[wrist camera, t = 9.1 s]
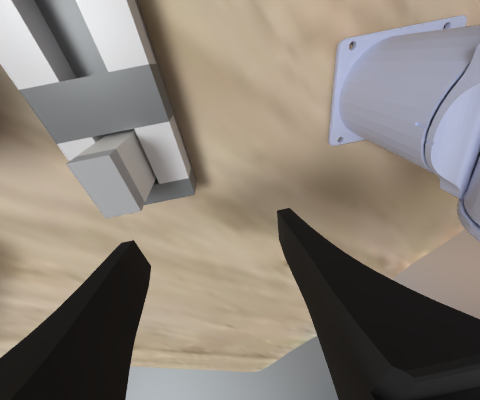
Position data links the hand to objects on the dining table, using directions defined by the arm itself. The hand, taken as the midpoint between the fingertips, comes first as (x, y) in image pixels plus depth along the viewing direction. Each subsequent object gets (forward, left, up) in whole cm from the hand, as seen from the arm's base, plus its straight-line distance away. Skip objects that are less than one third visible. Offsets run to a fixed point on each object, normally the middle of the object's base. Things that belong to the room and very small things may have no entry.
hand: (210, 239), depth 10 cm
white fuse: (+6, -2, -10) cm, 12 cm away
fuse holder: (+6, -6, -10) cm, 13 cm away
